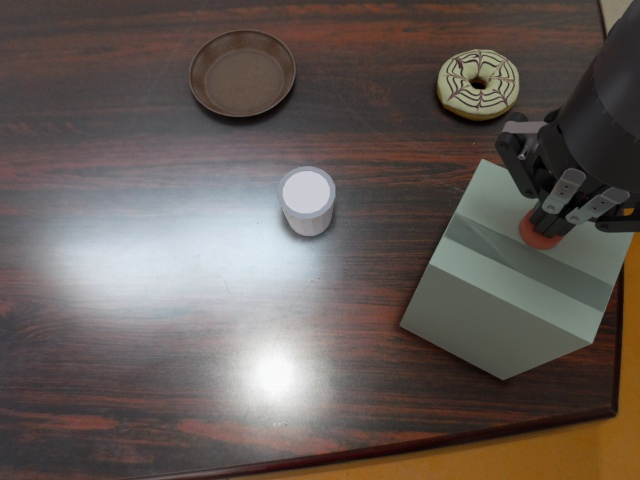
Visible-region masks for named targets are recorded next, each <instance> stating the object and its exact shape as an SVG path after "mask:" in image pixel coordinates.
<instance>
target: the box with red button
mask: <svg viewBox="0 0 640 480" xmlns="http://www.w3.org/2000/svg"><path fill="white" fill-rule="evenodd" d="M538 200H539V199H538V198H536V199H529V198H526V197H524V196H523V195H522V194H521V193H520V191H519V190H518V188H517V186H516V184H515V182H514V181H513V179H512V177H511V175H510V173H509V172H508V170H507V168H506V167H502V166H500V165H497V164H496V163H493V162H491V161H489V160H486V159H484V158H481V160H480V162H479V164H478V165H477V167H476V170H475V171H474V173H473V175H472V177H471V179H470V181H469V183H468V185H467V187H466V189H465V191H464V193H463V195H462V197H461V199H460V201H459V203H458V205H457V207H456V208H455V211H454V212H453V215H452V217H451V218H450V220H449V222H448V224H447V226H446V229H445V230H444V232H443V234H442V236H441V238H440V239H439V242H438V244H437V246H436V248H435V250H434V251H433V254H432V256H431V258H430V260H429V262H428V264H427V266H426V268H425V270H424V272H423V274H422V276H421V278H420V280H419V282H418V285H417V288H416V289H415V291H414V293H413V296H412V297H411V299H410V302H409V304H408V306H407V308H406V310H405V312H404V314H403V316H402V318H401V321H400V323H399V327H400V328H403V329H404V330H406V331H408V332H410V333H411V334H413V335H415V336H418V337H419V338H421V339H423V340H425V341H427V342H429V343H431V344H433V345H435V346H436V347H439V348H440V349H443V350H444V351H446V352H447V353H450V354H452V355H454V356H456V357H458V358H459V359H461V360H464V361H465V362H467V363H469V364H471V365H473V366H474V367H477V368H479V369H480V370H482V371H484V372H486V373H488V374H490V375H492V376H494V377H496V378H498V379H500V380H501V381H505V380H508V379H510V378H512V377H515V376H517V375H520V374H522V373H524V372H527V371H529V370H531V369H534V368H536V367H540V366H542V365H544V364H546V363H549V362H552V361H553V360H556V359H558V358H561V357H563V356H566V355H568V354H570V353H573V352H576V351H578V350H580V349H583V348H585V347H587V346H590V345H593V344H594V341H595V338H596V335H597V332H598V330H599V327H600V325H601V322H602V319H603V317H604V315H605V312H606V309H607V306H608V304H609V301H610V298H611V296H612V293H613V291H614V288H615V285H616V282H617V280H618V278H619V275H620V272H621V270H622V267H623V264H624V261H625V259H626V256H627V253H628V251H629V248H630V245H631V243H632V240H633V238H634V235H635V233H636V232H622V233H605V232H602V231H599V230H598V229H596V227H595V223H594V222H589V221H586V222H585V223H583V224H581V225H576V226H575V227H574V228H573V229H572V230H571V231H570V232H569V233H567V234H566V235H565V236H564V238H563V239H562V240H561V241H560V242H559V243H558V244H557V245H556V246H554V247H553V248H550V249H547V250H540V249H535V248H533V247H531V246H529V245H528V244H527V243H526V242H525V241H524V240H523V239H522V237H521V234H520V230H519V227H520V223H521V221H522V219H523V218H524V216H525V215H526V214H527V213H528V212H529V211H530V210H531V209H533V208H534V207H535V204H536V203H537V202H538Z"/></svg>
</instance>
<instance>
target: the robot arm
mask: <svg viewBox="0 0 640 480" xmlns="http://www.w3.org/2000/svg"><path fill="white" fill-rule="evenodd" d="M494 149H495V150H496V152H497V153H498V156H499V157H500V159H501V161H502V162H503V164H504V166H505V169H507V170H508V172H509V173H510V175H511V177H512V179H513V181H514V182H515V184H516V186H517V188H518V190H519V191H520V193H521V194H522V195H523V196H524V197H526V198H529V199H536V198H538V199H539V200H538V202H537V203H536V204H535V207H534V209H533V211H532V213H531V215H530V218H529V222H530V223H532V224H534V227H533V231H535V232H537V233H539V234H541V235H543V236H546V237H548V238H550V239H552V238H553V237H554V236H555V235H558V236H564V235H566V234H567V233H569V232H570V231H571V230H572V229H573V228H574V227H575V226H576V225H581V224H583V223H585V222H586V221H589V222H594V223H595V227H596V229H598V230H599V231H602V232H605V233H622V232H635V233H640V0H632V1H631V3H630V4H629V5H628V6H627V7H626V9H625V10H624V12H623V13H622V15H621V16H620V17H619V18H618V19H617V20H616V21H615V22H614V24H612V26H611V28H609V30H608V32H607V35H606V37H605V41H604V42H603V44H602V46H601V47H600V48H599V50H598V52H597V53H596V55H595V56H594V58H593V59H592V61H591V63H590V64H589V65H588V67H587V68H586V70H585V71H584V73H583V75H582V76H581V78H580V79H579V80H578V83H577V84H576V85H575V87H574V88H573V89H572V92H571V93H570V95H569V96H568V98H567V99H566V101H565V102H564V104H563V105H561V106H560V107H558V108H555V109H552V110H551V111H549V112H548V113H547V114H546V115H545V116H544V118H543V120H539V121H538V120H537V121H536V120H535V121H529V119H528V117H527V116H526V115H525V114H524V113H522V112H519V111H512V112H510V113H509V114H508V116H507V119H506V120H505V122H504V124H503V126H502V128H501V129H500V132H499V134H498V136H497V138H496V140H495V142H494ZM626 209H633V210H632V212H631V213H629V214H626V215H621V213H622V211H623V210H626Z"/></svg>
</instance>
